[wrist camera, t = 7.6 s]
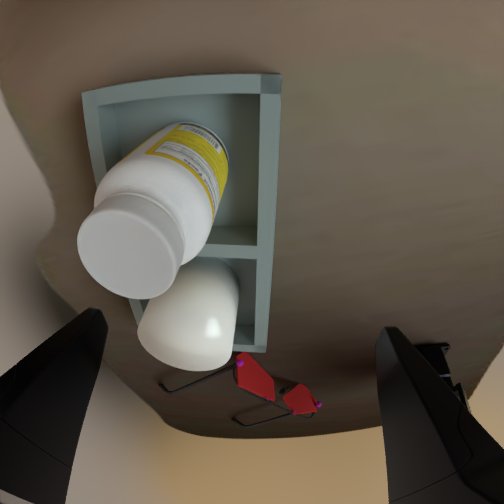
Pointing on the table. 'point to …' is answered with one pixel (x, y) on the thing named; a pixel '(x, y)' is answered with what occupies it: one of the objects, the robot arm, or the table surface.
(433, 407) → the robot arm
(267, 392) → the glasses
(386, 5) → the table surface
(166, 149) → the supplement bottle
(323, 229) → the table surface
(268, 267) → the tray
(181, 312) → the white pillar candle
